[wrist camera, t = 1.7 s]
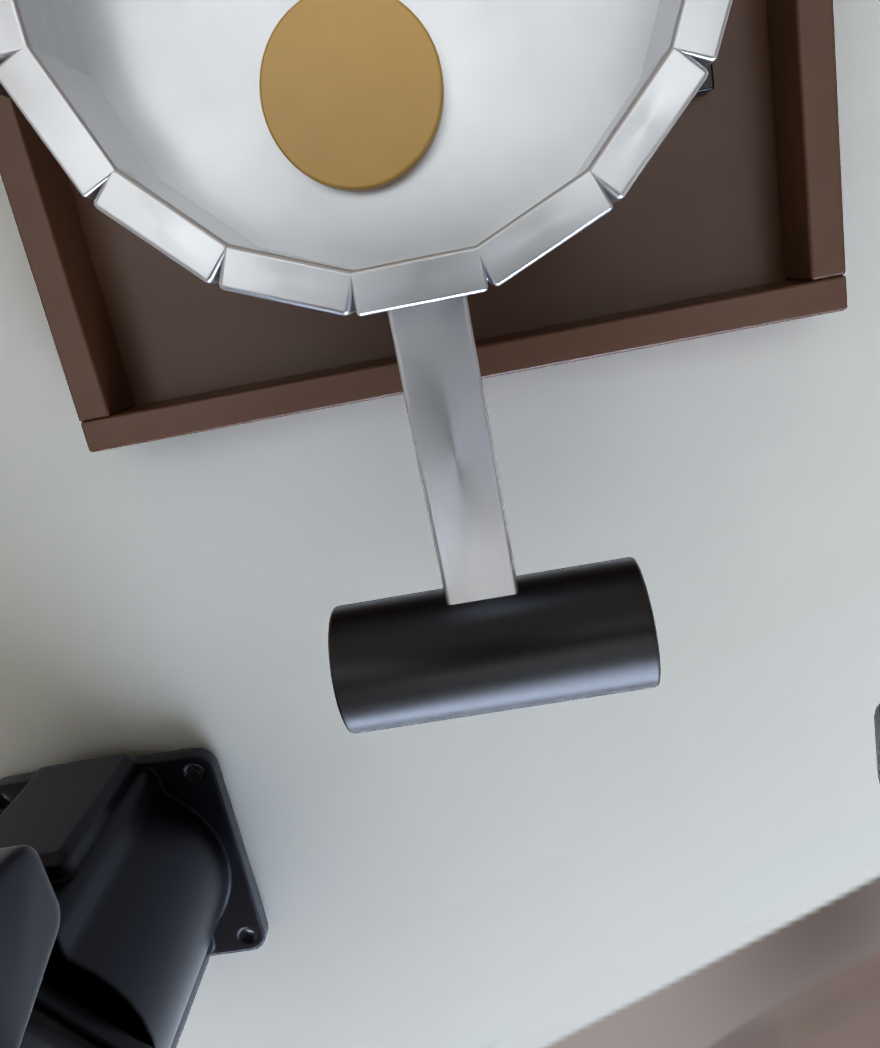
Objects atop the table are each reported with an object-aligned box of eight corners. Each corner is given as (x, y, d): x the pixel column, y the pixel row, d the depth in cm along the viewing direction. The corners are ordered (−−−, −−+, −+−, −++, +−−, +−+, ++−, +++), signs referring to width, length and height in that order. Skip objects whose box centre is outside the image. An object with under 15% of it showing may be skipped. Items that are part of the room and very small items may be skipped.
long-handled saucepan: (759, 631, 15) (818, 702, 12) (254, 711, 16) (215, 793, 13) (658, -554, 10) (719, -816, 8) (-53, -355, 11) (-203, -537, 9)
